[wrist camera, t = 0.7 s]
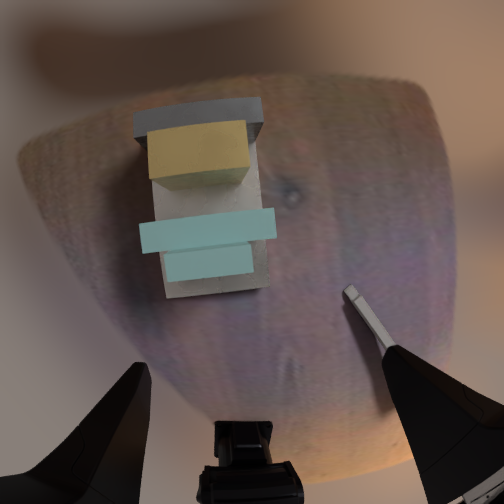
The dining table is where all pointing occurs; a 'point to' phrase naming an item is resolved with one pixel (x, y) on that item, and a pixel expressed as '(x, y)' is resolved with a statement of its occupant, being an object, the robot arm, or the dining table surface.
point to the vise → (209, 187)
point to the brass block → (199, 155)
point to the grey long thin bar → (369, 317)
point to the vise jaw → (208, 242)
